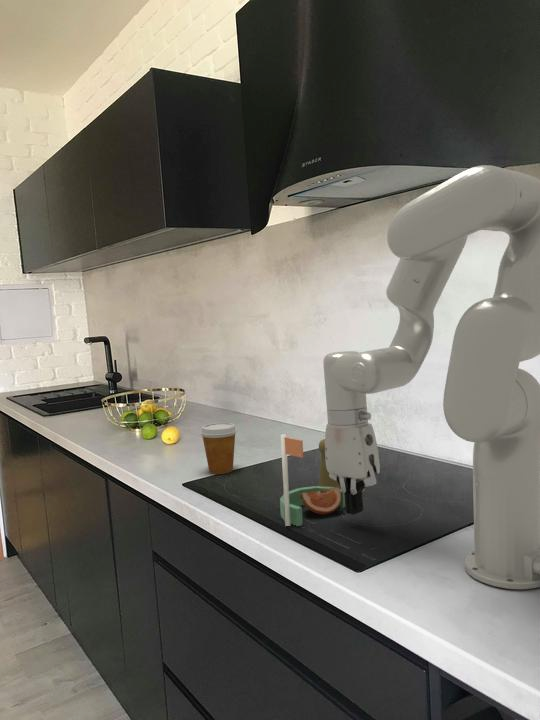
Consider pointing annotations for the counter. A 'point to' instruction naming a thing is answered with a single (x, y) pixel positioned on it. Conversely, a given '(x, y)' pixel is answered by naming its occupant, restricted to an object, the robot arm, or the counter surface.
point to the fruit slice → (322, 500)
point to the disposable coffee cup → (219, 446)
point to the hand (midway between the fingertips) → (354, 512)
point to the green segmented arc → (292, 499)
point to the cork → (325, 470)
